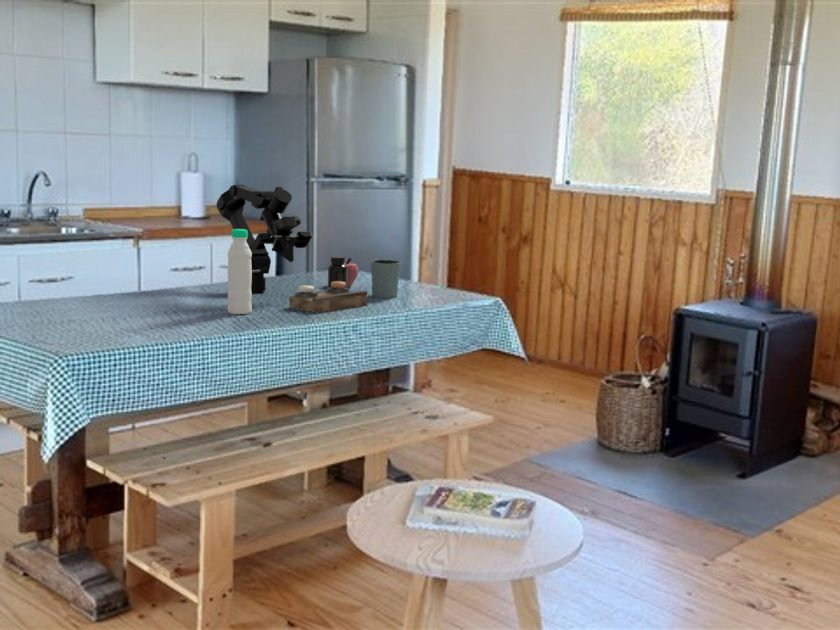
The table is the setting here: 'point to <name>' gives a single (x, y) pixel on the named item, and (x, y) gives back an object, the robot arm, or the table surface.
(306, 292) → the button cream
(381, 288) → the grey green plant pot
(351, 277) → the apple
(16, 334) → the table surface
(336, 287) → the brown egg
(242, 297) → the water bottle
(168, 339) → the table surface
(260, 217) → the robot arm
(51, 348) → the table surface
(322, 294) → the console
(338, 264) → the supplement bottle
